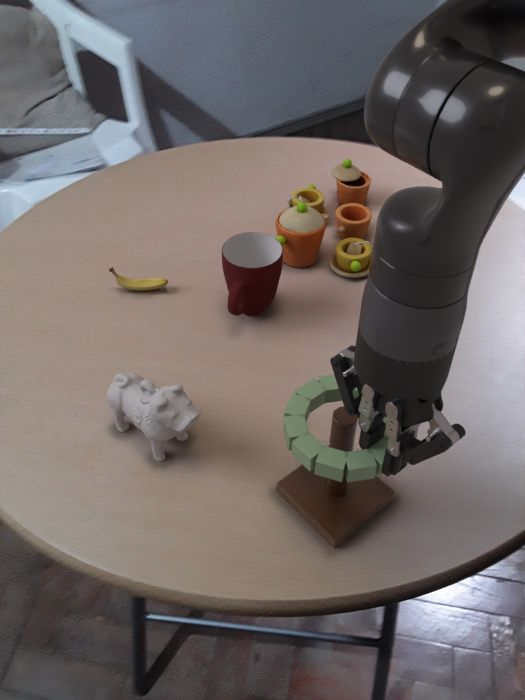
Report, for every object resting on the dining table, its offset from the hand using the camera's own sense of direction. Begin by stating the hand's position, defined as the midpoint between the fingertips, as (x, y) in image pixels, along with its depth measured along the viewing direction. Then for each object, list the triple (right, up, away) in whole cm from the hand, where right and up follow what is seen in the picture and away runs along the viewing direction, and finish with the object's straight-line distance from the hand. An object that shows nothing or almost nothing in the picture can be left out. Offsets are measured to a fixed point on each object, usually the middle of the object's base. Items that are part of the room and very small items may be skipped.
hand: (380, 460), depth 63 cm
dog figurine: (-23, 0, +16) cm, 28 cm away
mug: (-13, +15, +32) cm, 38 cm away
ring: (-3, +2, +3) cm, 5 cm away
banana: (-29, +19, +35) cm, 49 cm away
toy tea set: (-1, +29, +46) cm, 54 cm away
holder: (-3, -6, +11) cm, 12 cm away
